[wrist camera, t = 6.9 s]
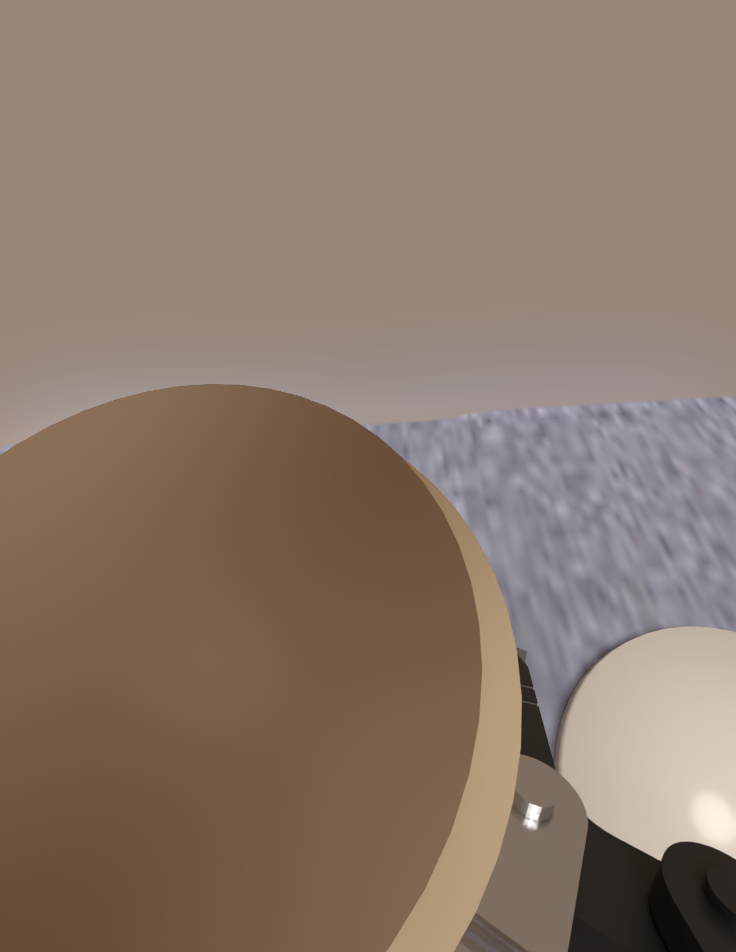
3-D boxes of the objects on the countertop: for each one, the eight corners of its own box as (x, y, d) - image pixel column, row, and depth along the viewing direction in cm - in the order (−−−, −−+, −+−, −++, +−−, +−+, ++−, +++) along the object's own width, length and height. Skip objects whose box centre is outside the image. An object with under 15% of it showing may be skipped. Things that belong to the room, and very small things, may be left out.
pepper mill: (220, 783, 14) (-577, 919, 2) (298, 620, 17) (96, 295, 5) (381, 869, 13) (375, 1960, 1) (439, 680, 16) (616, 442, 4)
